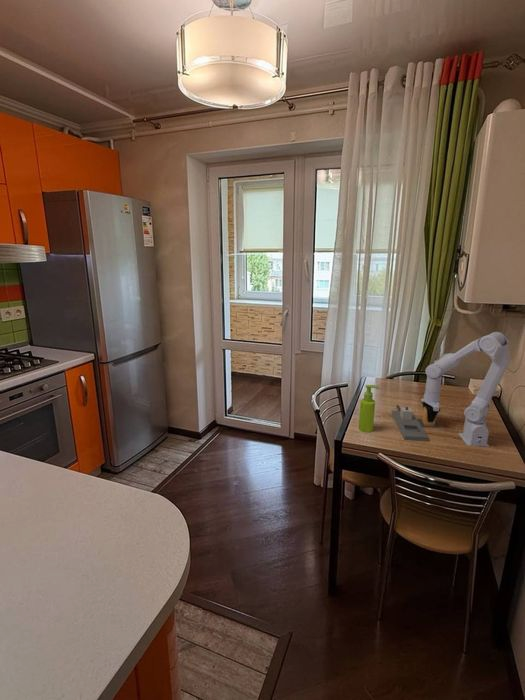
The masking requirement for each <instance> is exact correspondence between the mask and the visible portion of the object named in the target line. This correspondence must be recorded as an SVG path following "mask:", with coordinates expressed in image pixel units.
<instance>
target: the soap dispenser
mask: <svg viewBox="0 0 525 700" xmlns="http://www.w3.org/2000/svg"><path fill="white" fill-rule="evenodd" d="M365 388H366V391H365V392H364V394H363V398H361V399H360V405H359V419H358V430H359V431H360V432H363V433H366V434H367V433H372V432H373V431H374V421H375V408H376V401H375V400H374V399H373V392H372V389H377V390H378V389H380V386H379V385H375V384H365Z"/></svg>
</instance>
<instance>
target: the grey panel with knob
mask: <svg viewBox="0 0 525 700" xmlns="http://www.w3.org/2000/svg"><path fill="white" fill-rule="evenodd" d="M396 409H397V410H391V416H392V418H393V420H394V422H395V424H396V426H397V428H398V431H399V432H400V434H401V437H402V438H403V440H404V441H412V442H413V441H417V442H428V441H429V437H428V434H427V433H426V432H425V430H424V427H421V425H420V423H419V422H418V420H417V419H418V418H417V417H416V416H415V414H414V412H413V410H412V408H411V407H408V406H406V407H403V406H402V407H401V406H400V405H398V404H397V405H396Z"/></svg>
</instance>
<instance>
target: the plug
mask: <svg viewBox="0 0 525 700" xmlns="http://www.w3.org/2000/svg"><path fill="white" fill-rule="evenodd" d="M430 407H431V406H430ZM436 418H437V416H436V417H435V419H434V422H428V419H427V410H426V407H424V408H423V410H422V418H421V419H422V421H423V423H424V425H429V426H435V421H436Z"/></svg>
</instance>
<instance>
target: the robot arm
mask: <svg viewBox="0 0 525 700" xmlns="http://www.w3.org/2000/svg"><path fill="white" fill-rule="evenodd" d="M509 343H510V342H509V340H508V339H507V337H506V336H505V334H503V333H502V332H499V331H494V332H491V333H490V334H487V335H484V336H482V337H479V338H478V339H475V340H473V341H472V342H469V343H468V344H467V345H465V346H464V347H462V348H461V349H460V350H458V351H456V352H455V353H452V352H449V353H445V354H443V355H442V357H440V358H439V359H438V360H437V359H436V360H434V363H432V364H429V365H428V366H427V367H426V368H425V374H426V380H425V382H426V383H425V390H424V393H423V398H420V399H421V400H420V401H421V404H422V408H423V409H424V407H426V410H427V419H428V422H434V419H435V417H436V418H437V416H438V414H439V413H440V412H441V408H440V406H439V405H440V393H441V388H442V387H441V386H442V378H443V375H445V373H447V372H448V371H450V370H452V369H454V368H456V367H457V366H459V364H460V360H462V359H464V358H466V357H467V356H469V355H471V354H472V353H474V352H482V351H483V352H484V353H485V354H486V355H487V356H488V357H489V358H490V359H491V364H490V366H489V368H488V371H487V372H486V375H485V377H484V379H483V381H482V383H481V386H480V387H479V389H478V392H477V394H476V396H475V397H474V398H473V400H472V402H471V403H470V405H469V406H467V407H466V408H465V409H464V417H465V419H464V425H463V432H458V435H459V437H460V438H461V439H462V440H463V441H464V443H465V444H466V445H467V446H471V447H490V445H489V443H488V440H489V433H490V431H489V429H488V428H487V417H486V416H487V415H489V413H490V412H491V408H490V405H491V403H492V398H493V396H494V394H495V392H496V390H497V388H498V386H499V384H500V382H501V380H502V379H503V376H504V374H505V372H506V370H507V368H508V366H509V364H510V362H511V354H510V353H511V352H510V349H509ZM430 406H431V407H430ZM435 420H436V419H435Z"/></svg>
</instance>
